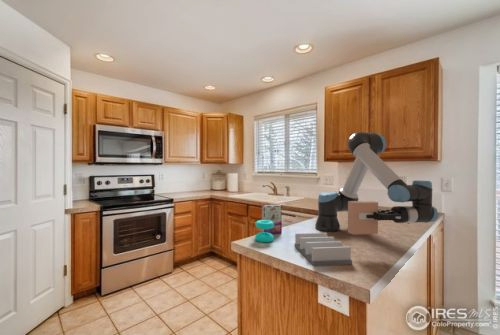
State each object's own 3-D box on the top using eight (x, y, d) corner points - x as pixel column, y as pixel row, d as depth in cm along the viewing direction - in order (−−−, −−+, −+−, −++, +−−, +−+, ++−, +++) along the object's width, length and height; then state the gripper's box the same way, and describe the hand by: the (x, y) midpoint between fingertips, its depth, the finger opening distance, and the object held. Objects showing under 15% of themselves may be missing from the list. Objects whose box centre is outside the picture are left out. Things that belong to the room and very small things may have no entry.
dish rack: (294, 246, 117) (294, 232, 117) (325, 245, 119) (325, 232, 119) (313, 265, 93) (314, 249, 93) (351, 264, 95) (352, 248, 95)
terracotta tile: (347, 232, 108) (348, 201, 108) (372, 231, 109) (372, 201, 109) (352, 234, 104) (352, 202, 104) (377, 233, 105) (378, 202, 105)
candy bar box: (278, 231, 145) (278, 204, 145) (281, 233, 140) (282, 205, 140) (261, 232, 142) (261, 204, 142) (263, 234, 137) (264, 206, 137)
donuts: (266, 224, 119) (251, 221, 125) (266, 244, 119) (251, 240, 125) (277, 221, 127) (262, 218, 133) (277, 240, 127) (262, 236, 133)
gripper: (418, 227, 101) (367, 228, 98) (389, 218, 118) (345, 219, 115) (418, 209, 101) (367, 210, 98) (389, 203, 118) (345, 203, 115)
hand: (355, 215), depth 106 cm, fingers closed on terracotta tile, 4 cm apart
